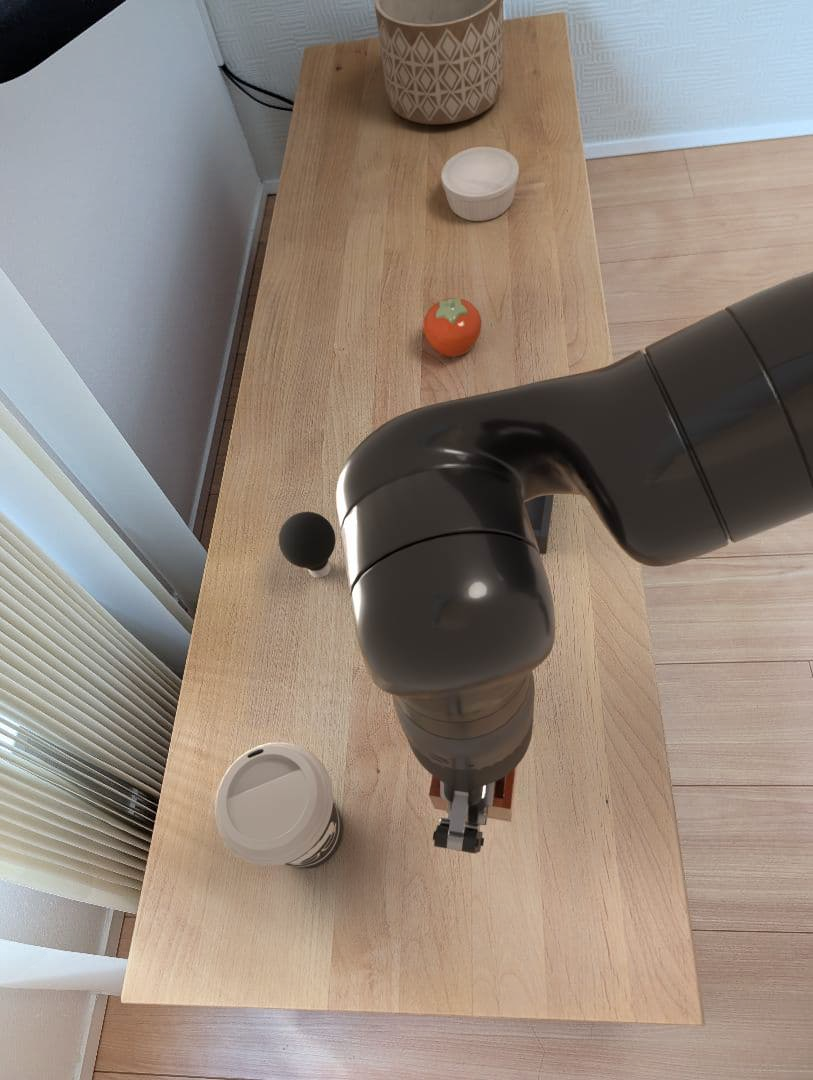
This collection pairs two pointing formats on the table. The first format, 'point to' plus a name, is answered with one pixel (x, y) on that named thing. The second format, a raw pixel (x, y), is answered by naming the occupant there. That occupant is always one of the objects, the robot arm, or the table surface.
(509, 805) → the box brown
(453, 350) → the tomato
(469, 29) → the planter
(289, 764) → the coffee cup
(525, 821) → the table surface
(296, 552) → the light bulb
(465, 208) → the ramekin
